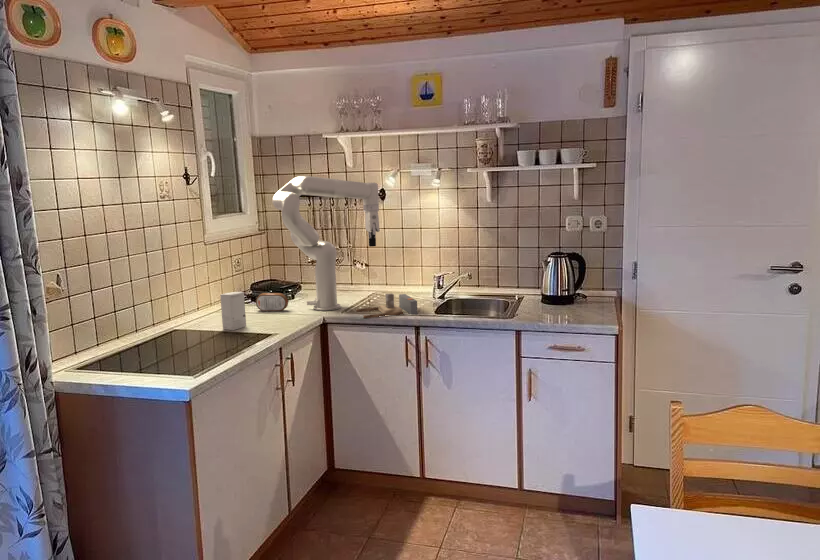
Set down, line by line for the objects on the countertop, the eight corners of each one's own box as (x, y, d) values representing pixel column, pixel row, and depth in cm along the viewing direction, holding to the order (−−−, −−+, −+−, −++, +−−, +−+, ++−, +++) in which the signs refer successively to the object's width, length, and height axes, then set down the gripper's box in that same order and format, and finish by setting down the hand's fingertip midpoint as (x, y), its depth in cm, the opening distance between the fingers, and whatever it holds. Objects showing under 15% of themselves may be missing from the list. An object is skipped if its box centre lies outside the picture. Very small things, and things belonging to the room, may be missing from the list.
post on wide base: (384, 314, 280) (384, 297, 278) (378, 309, 290) (377, 292, 289) (402, 313, 282) (401, 295, 281) (395, 308, 292) (394, 291, 291)
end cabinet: (410, 314, 279) (410, 301, 278) (399, 307, 296) (399, 294, 295) (417, 314, 280) (417, 300, 279) (405, 306, 297) (405, 293, 296)
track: (363, 318, 275) (363, 315, 275) (356, 311, 289) (356, 309, 289) (403, 314, 280) (403, 312, 280) (394, 308, 294) (394, 305, 294)
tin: (288, 310, 297) (287, 292, 295) (287, 311, 294) (285, 293, 292) (257, 310, 298) (256, 292, 297) (255, 311, 295) (254, 294, 294)
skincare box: (232, 330, 259) (229, 295, 257) (222, 329, 262) (219, 294, 260) (247, 326, 266) (244, 291, 264) (236, 325, 269) (234, 290, 267)
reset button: (409, 306, 283) (408, 299, 282) (407, 305, 285) (407, 298, 284) (413, 305, 283) (413, 298, 283) (412, 305, 285) (411, 298, 285)
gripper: (382, 208, 300) (383, 247, 303) (374, 207, 314) (376, 244, 317) (367, 209, 298) (368, 248, 301) (360, 208, 312) (361, 245, 315)
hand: (372, 246), depth 309 cm, fingers closed
